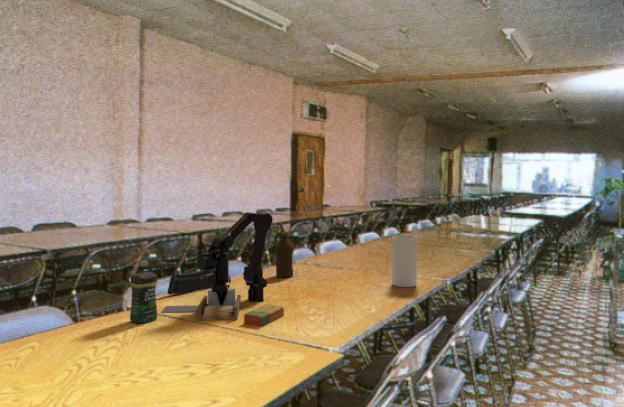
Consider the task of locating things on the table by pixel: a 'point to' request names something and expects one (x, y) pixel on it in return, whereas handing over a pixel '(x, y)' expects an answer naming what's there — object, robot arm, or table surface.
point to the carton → (264, 315)
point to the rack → (217, 317)
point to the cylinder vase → (404, 261)
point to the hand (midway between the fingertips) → (221, 303)
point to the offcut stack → (218, 310)
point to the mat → (180, 309)
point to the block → (214, 299)
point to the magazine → (188, 282)
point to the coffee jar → (143, 297)
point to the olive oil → (284, 257)
